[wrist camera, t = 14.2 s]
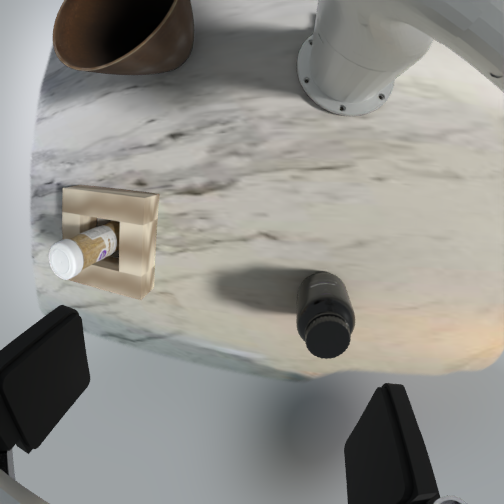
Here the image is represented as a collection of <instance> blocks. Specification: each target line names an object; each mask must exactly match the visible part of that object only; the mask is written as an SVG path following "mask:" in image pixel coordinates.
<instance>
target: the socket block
mask: <svg viewBox="0 0 504 504" xmlns="http://www.w3.org/2000/svg"><path fill="white" fill-rule="evenodd" d="M158 204H159V194H155V193H147V192H139V191H131V190H123V189H115V188H106V187H97V186H88V185H77V186H71V187H66V188H63V200H62V232H63V239H70V238H72V237H74V236H76V235H78V234H80V233H83V232H85V231H88V230H90V229H93V228H95V227H97V218H102V219H108V220H114V221H120V236H119V258H116V257H111V256H107V257H105V258H104V259H102V260H100V261H98V262H96V263H94V264H92V265H90V266H88V267H87V268H85V269H83V270H82V271H81V272H80V273H79V274H78V275H76V276H75V277H73V278H71V279H68V280H71V281H74V282H78V283H81V284H84V285H88V286H91V287H95V288H98V289H102V290H105V291H109V292H113V293H116V294H120V295H124V296H128V297H131V298H135V299H139V300H142V299H143V298H144V297H145V296H146V295H147V294H148V293H149V292H150V291H151V290H152V289H153V288H154V270H155V248H156V231H157V217H158Z"/></svg>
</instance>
